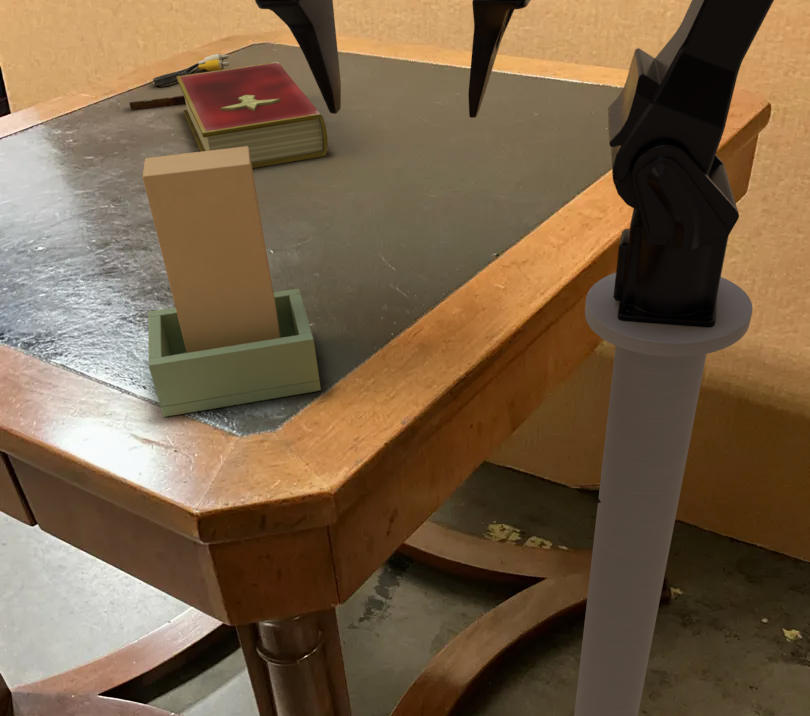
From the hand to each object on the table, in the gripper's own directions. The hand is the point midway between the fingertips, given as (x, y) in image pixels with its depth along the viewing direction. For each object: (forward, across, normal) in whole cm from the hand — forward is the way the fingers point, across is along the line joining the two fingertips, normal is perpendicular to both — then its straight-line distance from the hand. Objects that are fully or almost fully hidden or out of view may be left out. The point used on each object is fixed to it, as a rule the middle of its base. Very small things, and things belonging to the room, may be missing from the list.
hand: (403, 113), depth 57 cm
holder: (+13, -9, -12) cm, 20 cm away
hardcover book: (+13, -27, +34) cm, 45 cm away
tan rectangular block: (+12, -9, -11) cm, 19 cm away
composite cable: (+13, -43, +53) cm, 70 cm away
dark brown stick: (+14, -38, +44) cm, 60 cm away
